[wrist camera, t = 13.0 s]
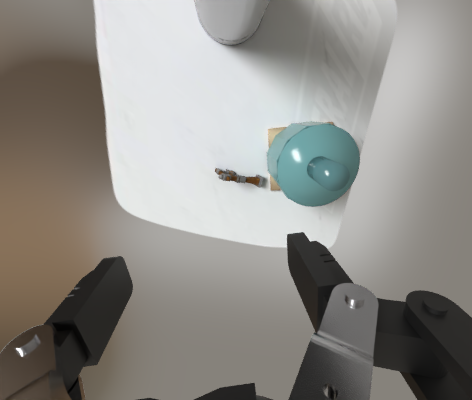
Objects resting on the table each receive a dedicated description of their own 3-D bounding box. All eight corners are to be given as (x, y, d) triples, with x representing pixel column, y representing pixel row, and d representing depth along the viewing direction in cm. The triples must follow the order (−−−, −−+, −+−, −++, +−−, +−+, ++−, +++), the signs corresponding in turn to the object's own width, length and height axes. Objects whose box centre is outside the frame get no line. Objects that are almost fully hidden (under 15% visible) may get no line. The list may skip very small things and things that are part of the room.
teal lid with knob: (265, 126, 36) (286, 132, 25) (336, 118, 37) (390, 121, 25) (268, 193, 41) (288, 226, 29) (332, 186, 41) (377, 216, 29)
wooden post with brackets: (211, 164, 38) (222, 172, 34) (250, 170, 42) (264, 178, 38) (209, 174, 38) (219, 183, 35) (248, 179, 43) (260, 188, 39)
